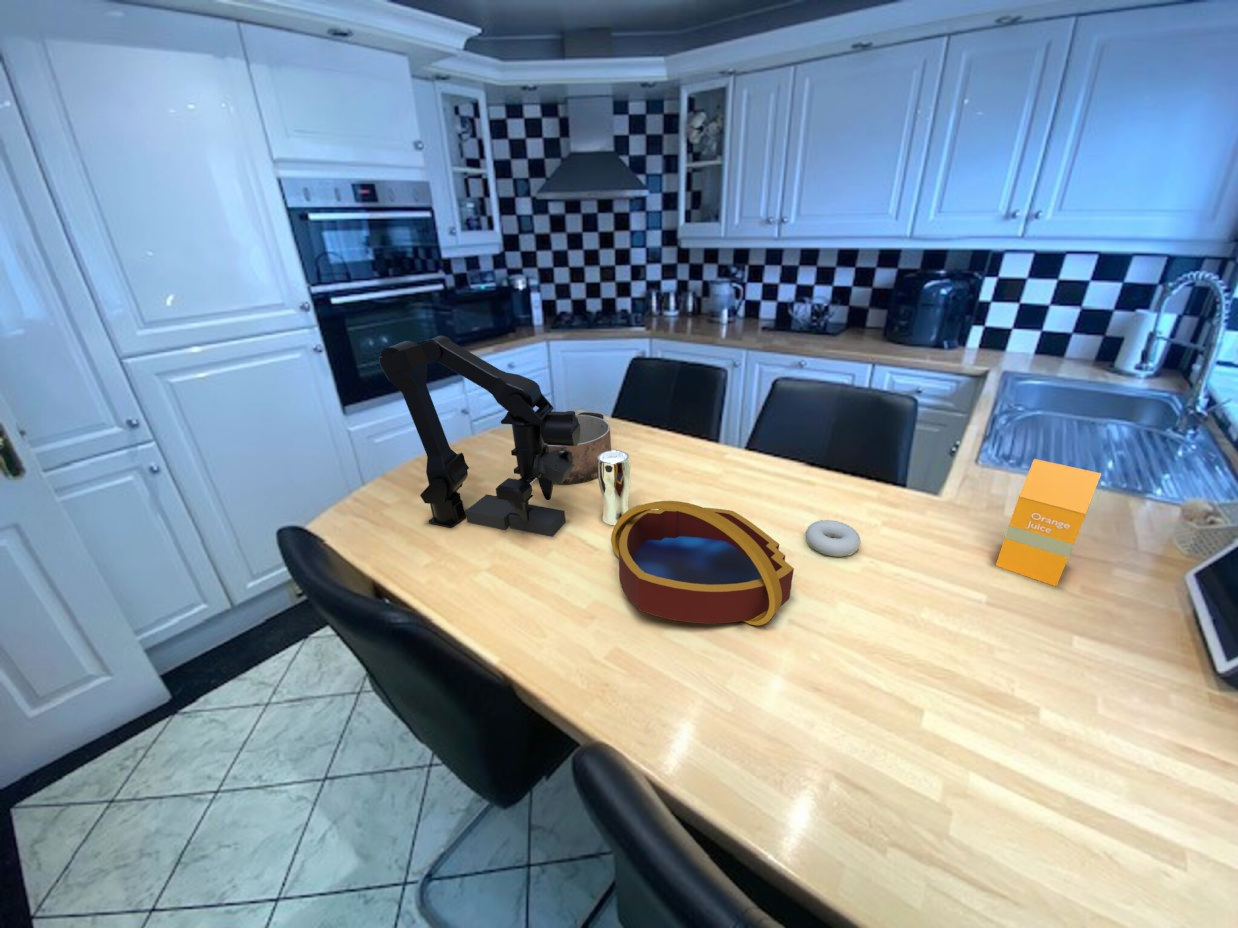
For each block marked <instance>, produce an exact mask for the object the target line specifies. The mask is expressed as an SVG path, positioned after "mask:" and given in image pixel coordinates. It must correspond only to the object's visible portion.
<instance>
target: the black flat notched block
mask: <svg viewBox="0 0 1238 928" xmlns="http://www.w3.org/2000/svg"><path fill="white" fill-rule="evenodd" d="M508 517H509V523H510V526H509V528H510V529H514V530H518V531H523V532H528V533H532V534H536V535H537V534H538V535H542V536H543V535H544V536H548V537H554V536H555V535H556V534H557V533H558V532H559V530H560V529H561V528H562V527H563V526H564V525H565V524H566V521H567V520H566V511H565V510H563V509H560V508H559V509H558V508H553V507H546V506H541V505H535V504H530V503H529V521H528V522H527V521H523V519H522V518H521V517H520V516H517V515H512V514H511V515H509V516H508Z"/></svg>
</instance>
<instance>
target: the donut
mask: <svg viewBox="0 0 1238 928" xmlns="http://www.w3.org/2000/svg"><path fill="white" fill-rule="evenodd" d="M805 540H806V542H807V544H808V546H810V547H811V548H812V549H814V550H815V551H816V552H818V553H820V554H822V555H826V556H829V557H847V556H850V555H853V554H855V553H856V552H857V551H858V550H859V548H860V545H861V537H860V534H859V533H858V532H857V530H856V529H855V528H853V527H852V526H851V525H849V524H847V523H844V522H842V521H838V520H832V519H823V520H818V521H815V522H813V523H811V524H809V525H808V527H807V528H806V530H805Z"/></svg>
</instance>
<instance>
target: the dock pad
mask: <svg viewBox="0 0 1238 928" xmlns="http://www.w3.org/2000/svg"><path fill="white" fill-rule="evenodd" d="M464 511H465V513H466V517H465V518H466V522H467V523H469V524H474V525H478V526H482V527H483V526H484V527H489V528H493V529H497V530H503V531H506V530H507V529H508V528H510V523H509V517H508V516H509V515H511V514H512V515H517V516H520V515H519V514H518V513H517V512H516V510H515V509H514V508H513V507H512V505H511V504H510V503H509V502H508V501H507V500H501V499H498V498H497V495H495V494H494V495H493V494H485V495H483V496H482V497H481V498H480V499H478V501H476V502H474V503H473V504H472V505H470V507H468V508H467V509H465V510H464Z"/></svg>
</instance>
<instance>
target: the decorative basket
mask: <svg viewBox="0 0 1238 928" xmlns="http://www.w3.org/2000/svg"><path fill="white" fill-rule="evenodd" d="M610 543H611V547H612V550H613V552H614V554H615V556H616V557H617V558H618V576H619V583H620V586H621V588H622V590H623V593H624V594H625V596H626V598H628V600H629V602H630V603H631V604H632V605H633V606H634V607H635V608H636V609H637V610H638V611H639V612H640V611H641V612H644V613H647V614H649V615H652V616H656V617H659V618H664V619H668V620H673V621H680V622H686V623H693V624H727V623H736V622H744V623H746V624H749V625H751V626H752V625H753V626H762V625H766V624H768V623H769V622H770V621H771V619H772V618H773V617H774V616H775V615H776V613H777V612H778V611H779V609H780V607H781V606H782V605H784V604H785V603H786V602H787V601H788V600H789V599H790V596H791V590H792V583H793V577H794V571H795V568H794V567H793V566H792V565H791V564H789V563H788V562H787V561H786V554H785V553H784V552H782V551H780V543H779V542H778V541H776V540H775V539H774V538H773V537H772V536H770V535H769V534H767V533H766V532H765V531H764V530H762V529H761V528H759V527H758V526H757V525H756V524H754V523H753V522H751V521H750V520H748V519H747V518H746V517H744V516H743V515H741V514H739V513H738V512H736V511H734V510H731V509H725V508H724V509H723V508H716V507H715V508H714V507H705V506H701V505H697V504H693V503H690V502H684V501H680V500H679V501H678V500H677V501H676V500H659V501H652V502H648V503H644V504H639V505H636V506H634V507H632V508H629V510H628V511H627V512H625V513H624V514H623V515H622V516H621V517H620V519H619V520H618V521H617V523H616V525H614V527H613V529H612V531H611V537H610Z"/></svg>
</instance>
